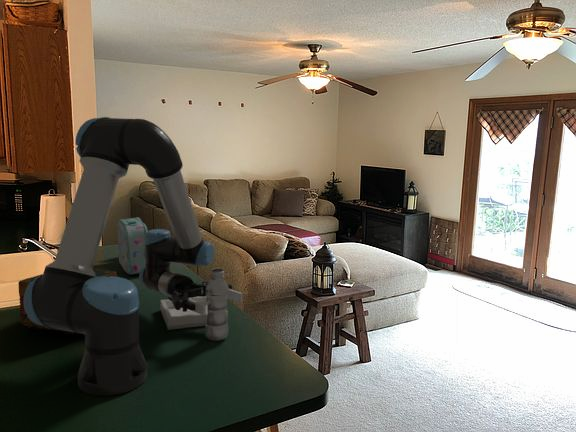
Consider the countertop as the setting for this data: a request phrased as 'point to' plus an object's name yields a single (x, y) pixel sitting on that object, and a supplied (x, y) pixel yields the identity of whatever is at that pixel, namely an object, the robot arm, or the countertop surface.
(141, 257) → the lunch box
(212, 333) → the plastic bottle
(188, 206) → the robot arm
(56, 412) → the countertop surface
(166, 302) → the tray
